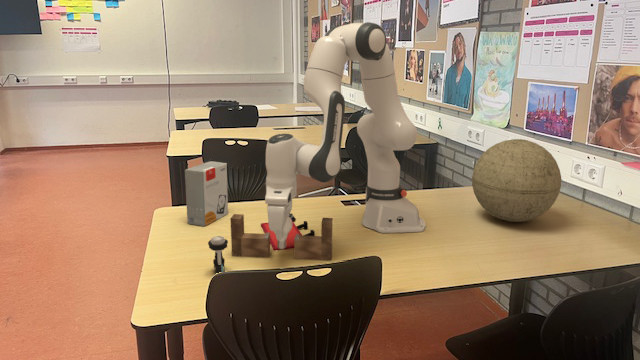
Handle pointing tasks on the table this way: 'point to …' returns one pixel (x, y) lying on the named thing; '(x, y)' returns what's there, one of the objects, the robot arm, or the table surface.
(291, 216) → the red board with handle
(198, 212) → the hard drive box
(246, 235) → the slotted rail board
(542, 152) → the mottled brown seamed ball
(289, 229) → the lightbulb
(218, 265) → the push button
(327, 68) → the robot arm
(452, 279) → the table surface
